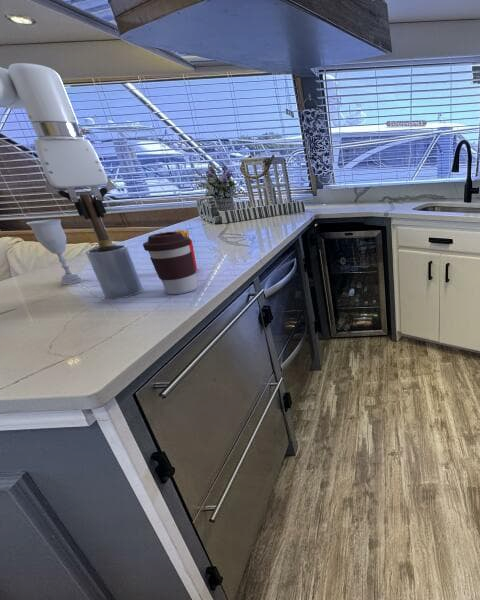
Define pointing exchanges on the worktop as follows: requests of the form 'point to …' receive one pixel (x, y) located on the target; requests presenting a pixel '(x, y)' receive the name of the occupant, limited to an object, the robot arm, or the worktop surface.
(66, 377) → the worktop surface
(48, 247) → the chalice
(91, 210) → the brush
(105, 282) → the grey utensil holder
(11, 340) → the worktop surface
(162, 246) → the coffee cup
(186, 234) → the french fries
